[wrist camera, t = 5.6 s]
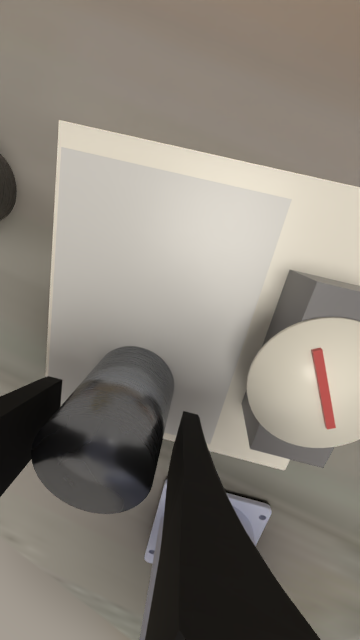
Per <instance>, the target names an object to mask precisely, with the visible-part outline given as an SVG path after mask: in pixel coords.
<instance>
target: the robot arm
mask: <svg viewBox="0 0 360 640" xmlns="http://www.w3.org/2000/svg"><path fill="white" fill-rule="evenodd" d="M61 393H62V379H58V378H54V377H50V376H47V377H45V378H42V379H40V380H38V381H35V382H33V383H31V384H28V385H26V386H24V387H22V388H19V389H17V390H15V391H12V392H10V393H8V394H5V395H3V396H1V397H0V497H1V495H2V494H3V493H4V492H5V490H6V489H7V488H8V487H9V486H10V484H11V483H12V482H13V481H14V479H15V478H16V477H17V476H18V475H19V473H20V472H21V471H22V470H23V469H24V467H25V466H26V465H27V464H28V462H29V461H30V460H31V459H32V457H31V450H32V444H33V441H34V439H35V437H36V435H37V433H38V432H39V431H40V430H41V428H42V427H43V426H44V425H45V424H46V423H47V422H48V420H49V419H50V418H51V417H52V416H53V415H54V413H55V412H56V411H57V410H58V409H59V408H60V405H61ZM271 513H272V512H271V507H270V506H269V505H268V504H266V503H263V502H259V501H255V500H251V499H248V498H244V497H240V496H236V495H233V494H229V493H226V492H225V490H224V488H223V485H222V483H221V481H220V478H219V476H218V474H217V471H216V469H215V466H214V464H213V461H212V458H211V455H210V453H209V450H208V447H207V444H206V440H205V437H204V434H203V430H202V426H201V422H200V417H199V416H198V415H197V414H194V413H190V412H186V411H183V414H182V417H181V421H180V425H179V428H178V432H177V436H176V439H175V443H174V447H173V451H172V456H171V461H170V466H169V471H168V479H167V480H165V483H164V486H163V490H162V494H161V497H160V501H159V505H158V508H157V512H156V516H155V519H154V523H153V526H152V530H151V534H150V537H149V541H148V545H147V548H146V552H145V556H144V559H145V561H147V562H148V563H152V570H151V576H150V581H149V587H148V593H147V599H146V605H145V610H144V616H143V622H142V628H141V633H140V639H139V640H320V638H319V637H318V636H317V634H316V633H315V632H314V630H313V629H312V628H311V626H310V625H309V624H308V622H307V621H306V620H305V618H304V617H303V616H302V614H301V613H300V612H299V610H298V609H297V608H296V606H295V605H294V604H293V602H292V601H291V600H290V598H289V597H288V595H287V594H286V593H285V591H284V590H283V589H282V587H281V586H280V584H279V583H278V581H277V580H276V578H275V577H274V575H273V574H272V572H271V571H270V569H269V568H268V566H267V565H266V563H265V562H264V560H263V558H262V557H261V555H260V553H259V552H258V550H257V548H256V547H255V546H256V544H257V542H258V540H259V538H260V536H261V534H262V532H263V530H264V528H265V526H266V524H267V522H268V520H269V518H270V516H271Z"/></svg>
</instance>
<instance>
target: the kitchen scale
mask: <svg viewBox="0 0 360 640" xmlns="http://www.w3.org/2000/svg"><path fill="white" fill-rule="evenodd" d="M124 346H137V347H142V348H145V349H148V350H150V351H152V352H154V353H155V354H157V355H158V356H159V357H161V358H162V359H163V360H164V361H165V363H166V364H167V365H168V367H169V368H170V370H171V372H172V375H173V379H174V392H173V397H172V401H171V405H170V410H169V414H168V419H167V423H166V427H165V432H164V436H163V439H166V440H170V441H174V442H175V439H176V436H177V432H178V428H179V425H180V421H181V417H182V414H183V411H186V412H190V413H194V414H197V415H198V416H199V417H200V422H201V426H202V430H203V434H204V437H205V440H206V444H207V447H208V450H209V451H212V452H216V453H220V454H223V455H227V456H231V457H235V458H239V459H242V460H246V461H250V462H254V463H258V464H261V465H265V466H269V467H273V468H277V469H281V470H284V471H285V469H286V467H287V465H288V463H289V460H294V461H298V462H302V463H306V464H309V465H313V466H317V467H321V468H324V466H325V464H326V462H327V460H328V458H329V457H330V455H331V453H332V451H333V449H334V447H336V446H341V445H345V444H348V443H352V442H354V441H357V440H359V439H360V187H355V186H351V185H346V184H342V183H337V182H333V181H329V180H324V179H320V178H315V177H311V176H306V175H302V174H297V173H293V172H288V171H284V170H279V169H275V168H271V167H266V166H262V165H257V164H253V163H248V162H244V161H239V160H235V159H230V158H226V157H222V156H217V155H213V154H208V153H204V152H199V151H195V150H190V149H186V148H181V147H177V146H173V145H168V144H164V143H159V142H155V141H150V140H146V139H141V138H137V137H132V136H128V135H124V134H119V133H115V132H110V131H106V130H101V129H97V128H92V127H88V126H83V125H79V124H75V123H70V122H66V121H61V120H59V131H58V150H57V169H56V187H55V206H54V225H53V243H52V262H51V281H50V299H49V318H48V337H47V355H46V374H45V377H47V376H50V377H54V378H58V379H62V393H61V405H62V404H63V403H64V402H65V401H66V400H67V399H68V397H69V396H70V395H71V394H72V393H73V392H74V390H75V389H76V388H77V387H78V386H79V385H80V384H81V382H82V381H83V380H84V379H85V378H86V377H87V375H88V374H89V373H90V372H91V371H92V370H93V369H94V367H95V366H96V365H97V364H98V363H99V362H100V360H101V359H102V358H103V357H104V356H105V355H106V354H107V353H109V352H110V351H112V350H114V349H116V348H119V347H124ZM61 405H60V407H61Z"/></svg>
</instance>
